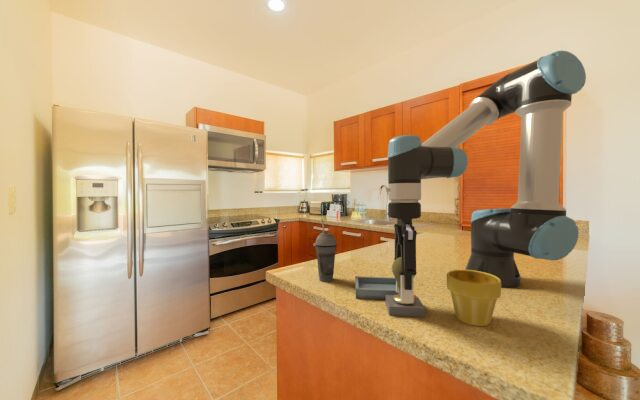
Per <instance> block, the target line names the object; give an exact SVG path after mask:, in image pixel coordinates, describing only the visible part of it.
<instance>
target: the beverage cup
mask: <svg viewBox="0 0 640 400" xmlns="http://www.w3.org/2000/svg"><path fill="white" fill-rule="evenodd" d="M321 225H322V232H320V234H318V235H317V237H316V240H315V244H314V246H315V251H316V258H317V259H316V260H317V270H318V271H317V272H318V279H319V281H321V282H325V283H327V282H328V283H329V282H332V281H334V280H333V279H334V274H335V273H334V272H335V258H336V250H337V245H338V244H337V239H336V237H335V236H334V235H333V234H332V233H330V232H325V226H324V225H325V224H324V219H323V218H321Z"/></svg>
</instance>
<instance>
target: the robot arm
mask: <svg viewBox="0 0 640 400" xmlns="http://www.w3.org/2000/svg"><path fill="white" fill-rule="evenodd" d="M586 75H587V74H586V69H585V67H584V65H583V62H582V61H581V60H580V59H579V57H577V56H576V55H575V54H574V53H572V52H570V51H567V50H557V51H554V52H551V53H549V54H547V55H544V56H540V57H539V58H538V59H536V60H534V61H533V62H531V63H529V64H526V65H524V66H522V67H521V68H518V69H517V70H515V71H513V72H510V73H508V74H506V75H504V76H502V77H501V78H499V79H498V80H496V81H495V82H494V83H493V84H491V85H489V87H488V88H486V89H485V90H483V92H481V93H480V94H479V95H478V96H476V98H474V99H472V101H470V103H469V106H468V107H467V108H466V109H465V110H464V111H462V112H461V113H460V114H458V115H457V116H456V117H454V118H453V119H452V120H450V121H449V122H448V123H447V124H446V125H444V126H443V127H442V128H440V129H439V130H438V131H437V132H435V133H434V134H433V135H431V136H430V137H429V138H427V139H426V140H425V141H423V142H422V138H421V137H420V136H417V135H413V134H408V135H407V134H405V135H397V136H394V137H393V138H391V139H390V140H389V142H388V148H387V169H388V170H387V176H388V179H387V181H388V187H386V188H385V192H387V195H388V196H387V197H388V200H389V201H390V202H388V205H387V215H388V218H390V219H391V218H392V219H396V223H394V224H393V227H394V259H393V260H394V261H395V260H396V259H397V258H399V257H401V263H402V272H399V275H401V303H414V295H415V294H414V293H415V292H414V290H415V289H414V285H415V283H414V279H415V277H414V275H415V276H417V273H418V272H417V234H418V232H417V230H415V226H413V220H415V219H420V218H421V217H422V204H421V202H419V201H421V200H422V180H428V179H439V178H446V179H451V178H459V177H461V176H462V175H463V174H464V173H465V171H466V170H467V168H468V164H469V163H468V162H469V161H468V155H467V153H466V152H465V150H463V149H462V148H459V146H461V145H462V144H464V143H465V142H466V141H468V139H470V138H471V137H472V136H474V135H475V134H476V133H477V132H478V131H480V130H481V129H483V128H484V127H485V126H489V125H492V124H493V123H495V122H496V121H497V120H500V119H501V118H503V117H506V116H509V115H511V114H515V115H517V116H518V117H520V118H521V122H520V123H521V124H520V141H519V142H520V144H519V145H520V146H519V162H518V163H519V165H518V166H519V168H518V186H517V188H518V189H517V190H518V191H517V202H516V203H514V204H513V205H511V207H510V208H508V207H507V208H505V207H504V208H486V209H476V210H474V211H473V212H472V213H471V219H470V246H471V247H470V256H469V259H468V261H467V263H466V266H465V268H464V270H474V271H480V272H485V273H489V274H492V275H494V276H496V277H498V278H499V279H500V280H501V288H513V287H515V288H516V287H519V286H521V284H522V282H521V281H522V278H521V274H520V272H519V271H520V270H519V269H518V266H517V263H516V261H515V254H518V255H522V256H527V257H531V258H534V259H537V260H541V259H542V260H546V261H559V260H562V259H564V258H565V257H567V256H569V254H570V253H571V252H573V250H574V249H575V246H577V242H578V239H579V232H580V231H579V228H578V225H577V223H576V221H575V220H574V219H573V218H570V217H568V216H567V208H565V207H564V206H563V205H562V204H560V199H559V198H560V179H561V178H560V177H561V159H562V140H563V139H562V137H563V120H564V118H563V117H564V115H563V114H564V112H565V111H566V110H567V109H568V108H570V107H571V106H572V96H573V95H575V94H577V93H578V92H579V91H581V90H583V87H584V86H585V84H586V79H587V76H586ZM396 292H397V293H399V289H398V285H397V281H396Z"/></svg>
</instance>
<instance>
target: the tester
mask: <svg viewBox="0 0 640 400" xmlns="http://www.w3.org/2000/svg"><path fill="white" fill-rule="evenodd" d="M393 296H394V295H385V300H384V303H385V306H386V309H387V312H388V315H389V316H393V317H394V316H395V317H396V316H398V317H419V318H426V307H425V306H424V304H423V303H422V301H421V299H420V298H419V296H418V295H416V294H414V298H415V303H414V304H412V305H403V304H399V303H396V302H395V301H394V300H393Z"/></svg>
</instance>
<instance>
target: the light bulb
mask: <svg viewBox="0 0 640 400" xmlns="http://www.w3.org/2000/svg"><path fill="white" fill-rule="evenodd" d="M391 272H392V274H393V278H395V279H396V281H397V285H398V289H399V296H401V275H399V272H402V263H401V257H399V258H397V259H396V260H394V261H393V263H392V264H391ZM415 276H416V275H414V278H415Z"/></svg>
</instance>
